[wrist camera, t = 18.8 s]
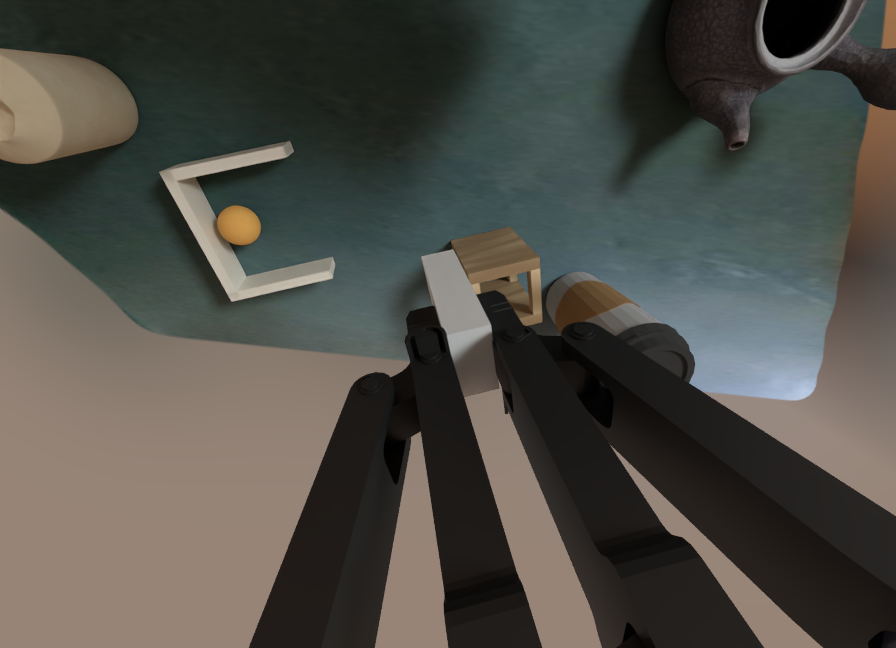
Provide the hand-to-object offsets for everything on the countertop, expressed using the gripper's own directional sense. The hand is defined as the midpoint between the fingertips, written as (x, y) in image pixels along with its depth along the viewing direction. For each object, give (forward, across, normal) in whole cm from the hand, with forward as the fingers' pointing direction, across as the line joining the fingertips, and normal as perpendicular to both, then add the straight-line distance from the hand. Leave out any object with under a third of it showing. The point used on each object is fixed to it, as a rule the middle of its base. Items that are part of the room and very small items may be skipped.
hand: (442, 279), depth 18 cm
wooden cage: (+19, +6, -9) cm, 22 cm away
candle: (+20, -21, +10) cm, 30 cm away
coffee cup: (+20, +15, -15) cm, 29 cm away
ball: (+19, -16, 0) cm, 25 cm away
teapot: (+20, +31, +5) cm, 37 cm away
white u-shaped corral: (+19, -13, 0) cm, 23 cm away
